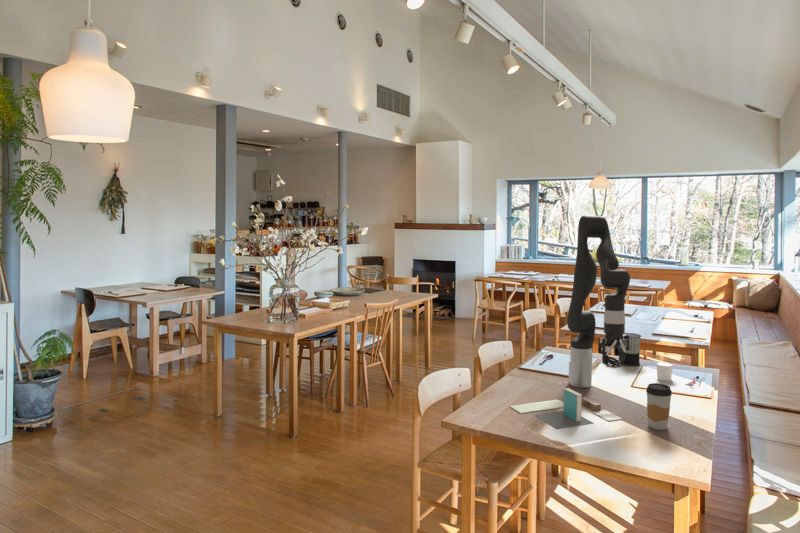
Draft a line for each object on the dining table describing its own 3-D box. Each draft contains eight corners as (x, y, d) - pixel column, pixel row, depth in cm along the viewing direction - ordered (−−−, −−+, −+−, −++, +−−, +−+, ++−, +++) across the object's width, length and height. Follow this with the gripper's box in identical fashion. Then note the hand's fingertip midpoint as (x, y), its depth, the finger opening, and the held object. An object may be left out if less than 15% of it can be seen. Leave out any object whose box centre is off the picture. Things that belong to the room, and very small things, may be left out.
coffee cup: (673, 426, 207) (675, 386, 205) (665, 433, 201) (667, 391, 199) (649, 420, 213) (651, 381, 211) (641, 427, 207) (642, 386, 205)
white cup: (675, 381, 259) (675, 366, 259) (659, 381, 259) (660, 366, 259) (668, 376, 266) (668, 361, 265) (653, 376, 266) (654, 361, 266)
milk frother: (642, 363, 288) (643, 334, 287) (632, 370, 276) (633, 340, 275) (614, 358, 297) (615, 330, 296) (602, 365, 285) (603, 336, 284)
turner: (576, 406, 229) (576, 398, 228) (589, 404, 231) (589, 396, 230) (608, 423, 211) (608, 414, 210) (622, 421, 213) (622, 412, 212)
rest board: (510, 408, 227) (510, 405, 227) (557, 401, 234) (557, 399, 234) (520, 415, 219) (520, 412, 219) (569, 408, 226) (569, 405, 226)
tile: (563, 414, 218) (563, 388, 217) (567, 413, 219) (568, 388, 218) (576, 421, 211) (576, 395, 210) (580, 420, 212) (581, 394, 210)
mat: (533, 416, 218) (533, 414, 218) (569, 410, 223) (569, 409, 223) (556, 430, 204) (556, 429, 204) (594, 424, 209) (594, 423, 209)
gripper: (619, 318, 227) (619, 358, 228) (593, 321, 220) (592, 363, 221) (635, 321, 220) (634, 362, 221) (608, 324, 213) (607, 367, 215)
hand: (613, 363), depth 221 cm, fingers open, 8 cm apart
